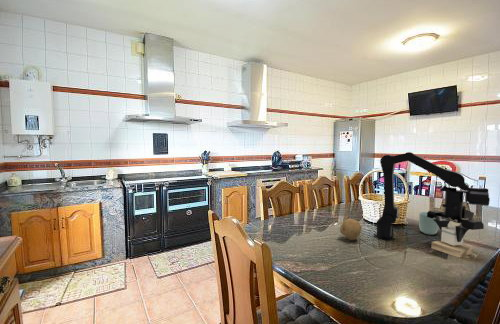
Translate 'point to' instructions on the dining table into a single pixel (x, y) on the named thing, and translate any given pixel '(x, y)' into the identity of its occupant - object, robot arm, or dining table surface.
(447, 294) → the dining table surface
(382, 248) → the dining table surface
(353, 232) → the natural sponge
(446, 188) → the robot arm
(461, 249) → the oak block
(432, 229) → the cup
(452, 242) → the white lidded box
